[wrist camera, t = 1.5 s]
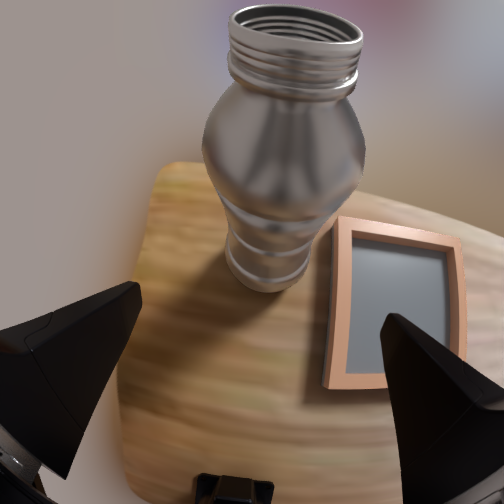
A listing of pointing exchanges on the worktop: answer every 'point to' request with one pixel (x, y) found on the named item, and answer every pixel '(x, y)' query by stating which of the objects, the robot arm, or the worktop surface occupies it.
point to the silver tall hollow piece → (284, 137)
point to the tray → (389, 296)
